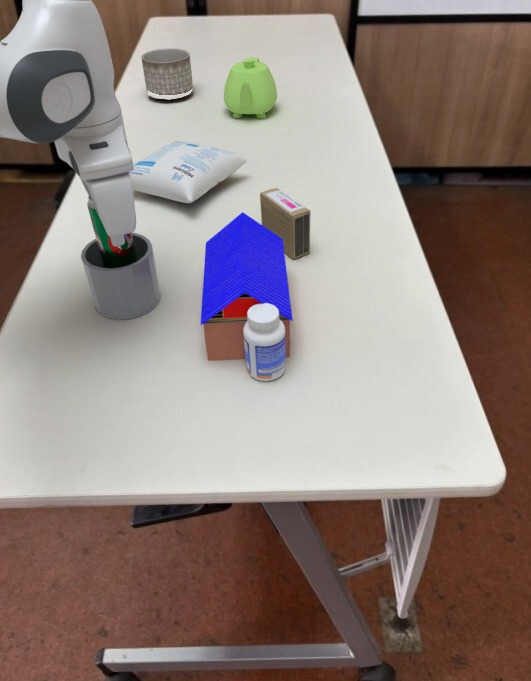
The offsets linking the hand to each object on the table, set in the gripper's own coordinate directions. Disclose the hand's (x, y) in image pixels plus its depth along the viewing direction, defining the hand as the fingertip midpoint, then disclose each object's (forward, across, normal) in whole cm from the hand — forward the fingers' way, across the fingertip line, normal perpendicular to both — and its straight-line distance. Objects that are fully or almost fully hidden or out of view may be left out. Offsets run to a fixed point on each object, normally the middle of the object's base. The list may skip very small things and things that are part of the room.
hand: (112, 232), depth 82 cm
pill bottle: (+12, +24, +13) cm, 29 cm away
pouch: (+12, -31, +20) cm, 39 cm away
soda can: (+6, 0, 0) cm, 6 cm away
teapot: (+12, -63, +49) cm, 81 cm away
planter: (+12, -85, +34) cm, 92 cm away
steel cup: (+12, 0, 0) cm, 12 cm away
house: (+12, +12, +15) cm, 23 cm away
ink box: (+12, -3, +29) cm, 32 cm away
